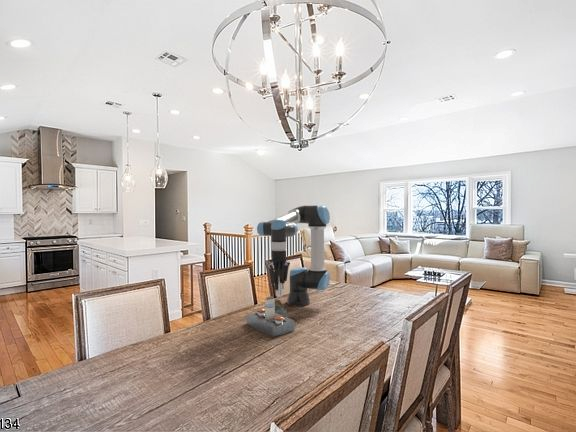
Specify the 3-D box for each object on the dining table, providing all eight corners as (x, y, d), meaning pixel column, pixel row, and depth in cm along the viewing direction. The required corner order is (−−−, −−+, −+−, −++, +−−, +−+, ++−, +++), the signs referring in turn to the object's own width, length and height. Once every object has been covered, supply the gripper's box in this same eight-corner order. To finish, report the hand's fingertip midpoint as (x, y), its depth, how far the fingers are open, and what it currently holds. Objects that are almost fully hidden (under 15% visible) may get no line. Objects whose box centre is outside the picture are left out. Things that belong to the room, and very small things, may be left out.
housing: (267, 318, 183) (267, 309, 183) (294, 330, 165) (294, 320, 164) (246, 323, 174) (246, 314, 174) (272, 337, 156) (272, 327, 156)
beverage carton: (273, 321, 179) (273, 309, 179) (267, 310, 198) (267, 300, 198) (287, 319, 181) (287, 308, 181) (279, 309, 200) (279, 299, 200)
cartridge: (271, 324, 173) (270, 295, 173) (276, 327, 169) (276, 297, 169) (263, 326, 170) (263, 296, 169) (268, 329, 166) (268, 298, 166)
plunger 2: (280, 327, 167) (280, 314, 167) (286, 330, 163) (286, 317, 163) (272, 329, 164) (272, 316, 163) (278, 332, 160) (278, 319, 159)
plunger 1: (262, 319, 179) (262, 307, 179) (268, 321, 175) (268, 309, 175) (254, 321, 176) (254, 309, 176) (260, 323, 172) (260, 311, 172)
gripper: (284, 248, 170) (285, 292, 170) (263, 250, 161) (263, 296, 161) (294, 249, 164) (294, 295, 164) (272, 251, 155) (272, 300, 156)
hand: (279, 295), depth 163 cm, fingers closed
